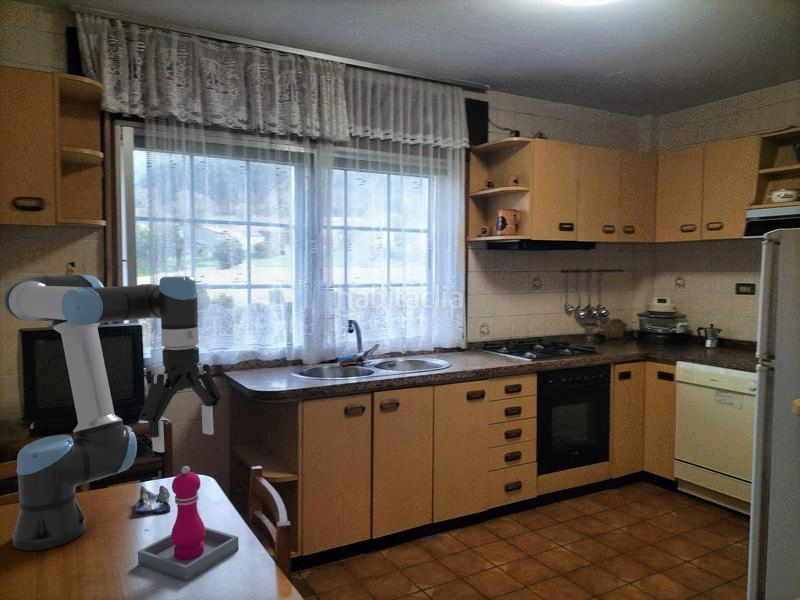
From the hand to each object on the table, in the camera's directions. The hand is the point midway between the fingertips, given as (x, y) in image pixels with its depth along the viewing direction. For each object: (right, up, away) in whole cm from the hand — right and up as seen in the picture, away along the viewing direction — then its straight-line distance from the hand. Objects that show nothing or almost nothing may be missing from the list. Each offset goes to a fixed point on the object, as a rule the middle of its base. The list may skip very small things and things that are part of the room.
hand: (184, 442), depth 128 cm
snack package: (-19, -25, +29) cm, 42 cm away
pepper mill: (0, -26, +2) cm, 26 cm away
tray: (0, -26, +2) cm, 26 cm away
